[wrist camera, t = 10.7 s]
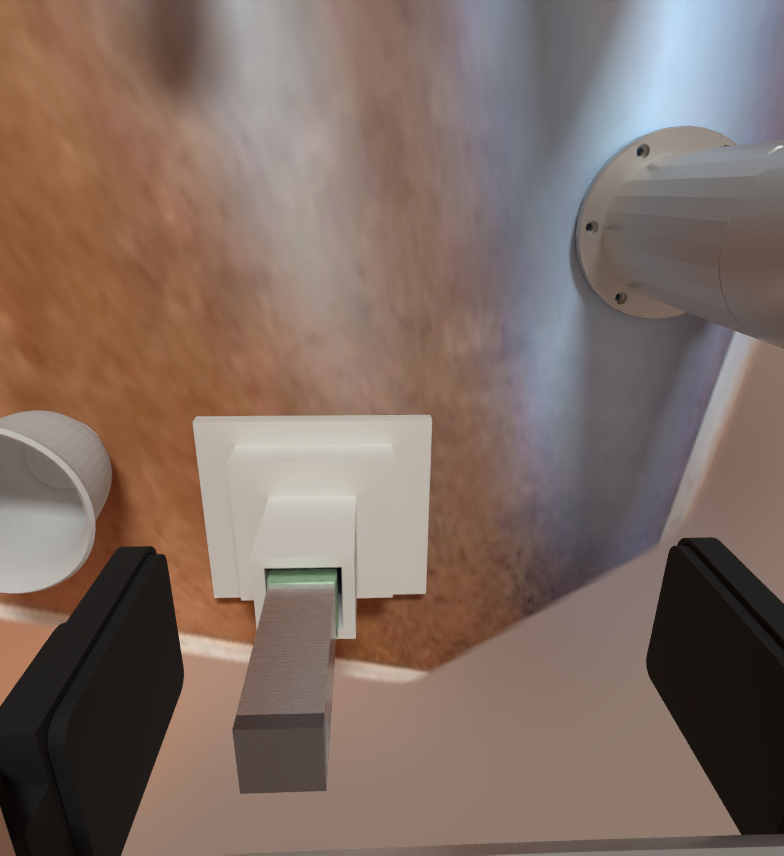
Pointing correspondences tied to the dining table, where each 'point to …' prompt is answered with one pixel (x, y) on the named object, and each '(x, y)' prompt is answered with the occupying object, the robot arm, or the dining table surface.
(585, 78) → the dining table surface
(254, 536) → the stand
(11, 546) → the teacup
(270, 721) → the post
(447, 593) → the dining table surface
